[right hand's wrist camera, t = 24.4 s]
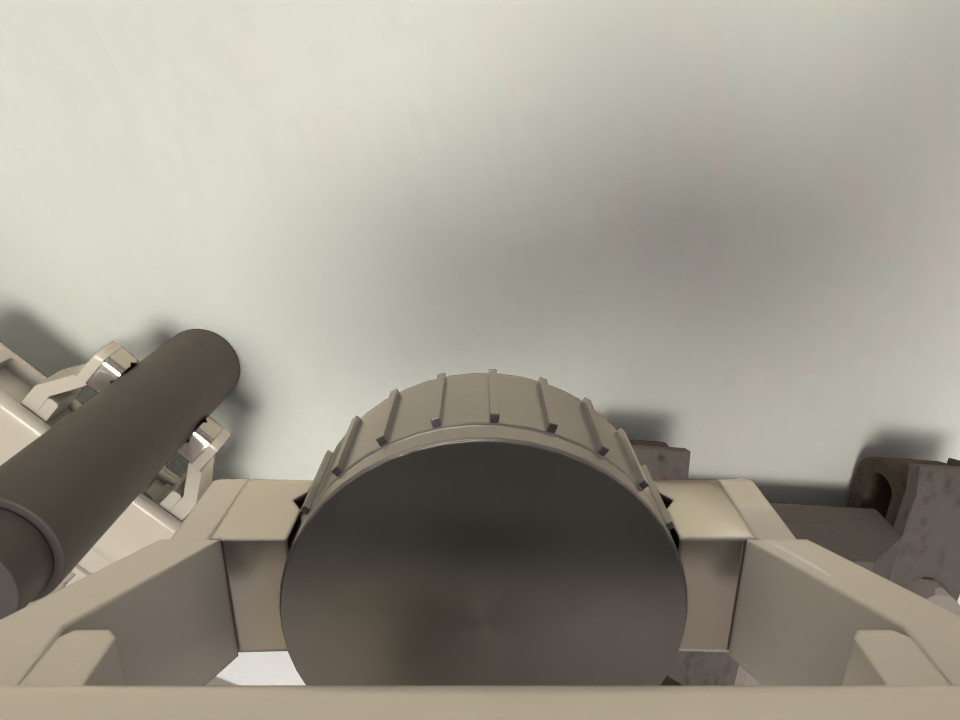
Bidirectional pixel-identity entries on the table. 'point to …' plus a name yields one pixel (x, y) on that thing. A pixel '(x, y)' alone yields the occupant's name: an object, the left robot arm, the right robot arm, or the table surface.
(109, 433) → the dark capped cylinder
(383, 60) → the table surface
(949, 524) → the toy
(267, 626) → the right robot arm
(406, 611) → the lid
